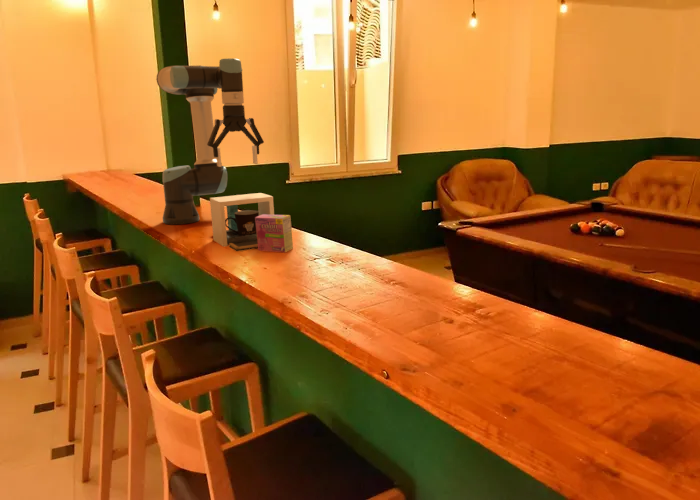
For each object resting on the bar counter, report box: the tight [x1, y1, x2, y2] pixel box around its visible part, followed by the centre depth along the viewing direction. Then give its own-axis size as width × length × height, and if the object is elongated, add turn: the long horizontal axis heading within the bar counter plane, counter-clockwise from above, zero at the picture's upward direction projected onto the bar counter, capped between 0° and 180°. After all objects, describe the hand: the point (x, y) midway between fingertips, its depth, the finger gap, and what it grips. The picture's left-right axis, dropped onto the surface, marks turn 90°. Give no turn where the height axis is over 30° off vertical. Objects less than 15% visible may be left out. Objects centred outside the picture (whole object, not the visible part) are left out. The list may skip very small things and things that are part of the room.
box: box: [255, 214, 294, 253], centre depth 186 cm, size 10×6×12 cm, turn 68°
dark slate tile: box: [228, 241, 258, 252], centre depth 193 cm, size 8×16×1 cm, turn 119°
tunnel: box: [209, 192, 275, 247], centre depth 201 cm, size 12×19×16 cm, turn 119°
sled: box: [226, 205, 257, 246], centre depth 204 cm, size 20×15×13 cm
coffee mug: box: [225, 209, 259, 236], centre depth 201 cm, size 12×9×10 cm
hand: (237, 165), depth 203 cm, fingers open, 13 cm apart
